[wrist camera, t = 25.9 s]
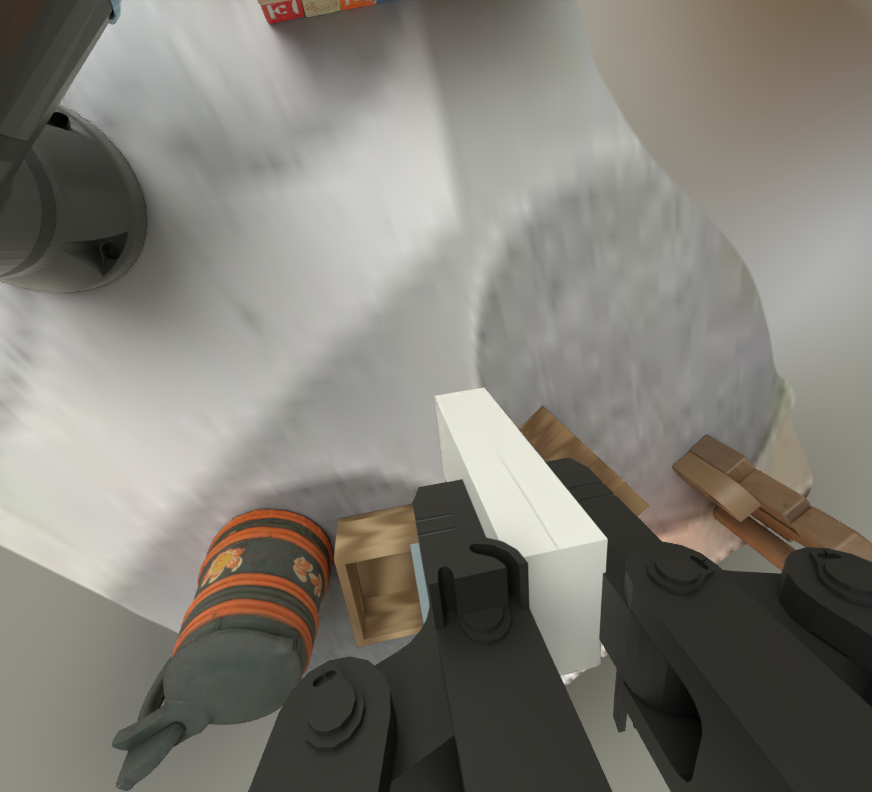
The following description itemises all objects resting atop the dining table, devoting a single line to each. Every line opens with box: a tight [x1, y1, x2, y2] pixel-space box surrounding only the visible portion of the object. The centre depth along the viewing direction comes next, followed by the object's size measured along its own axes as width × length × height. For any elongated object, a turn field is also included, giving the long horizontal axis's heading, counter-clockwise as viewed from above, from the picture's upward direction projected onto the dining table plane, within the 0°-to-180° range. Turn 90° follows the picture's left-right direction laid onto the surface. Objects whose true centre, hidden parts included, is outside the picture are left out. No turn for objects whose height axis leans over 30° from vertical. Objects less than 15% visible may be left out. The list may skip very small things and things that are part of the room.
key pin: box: [520, 406, 649, 516], centre depth 43 cm, size 4×4×17 cm
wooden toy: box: [672, 435, 872, 571], centre depth 47 cm, size 15×7×25 cm, turn 45°
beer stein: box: [112, 509, 333, 791], centre depth 42 cm, size 19×15×20 cm
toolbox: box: [334, 504, 424, 647], centre depth 51 cm, size 18×14×7 cm
